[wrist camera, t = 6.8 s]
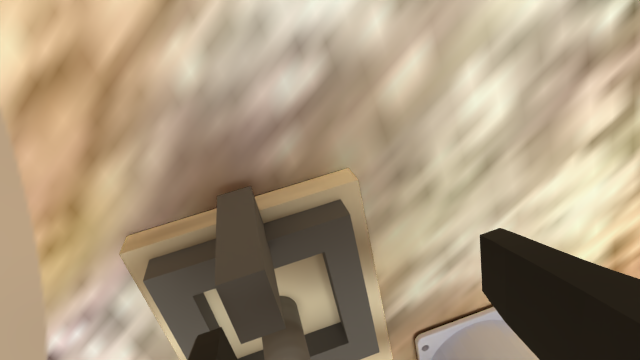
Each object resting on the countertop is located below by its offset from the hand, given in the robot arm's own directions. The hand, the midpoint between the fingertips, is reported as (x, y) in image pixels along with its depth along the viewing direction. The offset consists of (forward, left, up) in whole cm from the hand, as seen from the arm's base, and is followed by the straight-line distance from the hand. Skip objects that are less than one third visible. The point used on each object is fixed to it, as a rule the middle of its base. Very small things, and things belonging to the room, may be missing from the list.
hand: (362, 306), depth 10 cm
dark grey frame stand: (-6, +3, -8) cm, 10 cm away
